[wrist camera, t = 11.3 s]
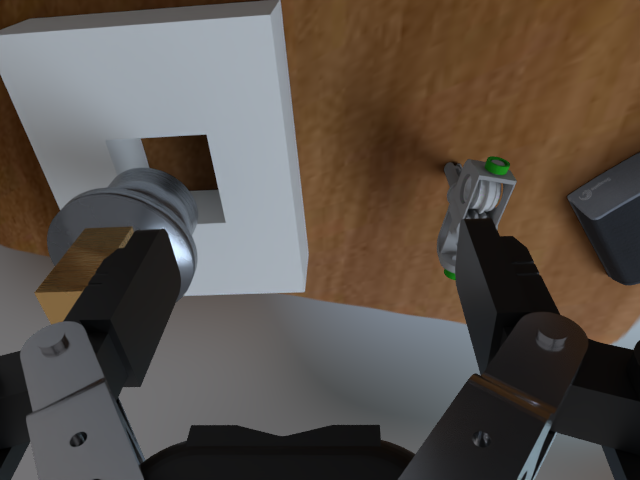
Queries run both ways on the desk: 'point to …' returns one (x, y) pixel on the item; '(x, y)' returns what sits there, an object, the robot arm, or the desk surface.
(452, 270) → the mechanical component
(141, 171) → the end cap
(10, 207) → the desk surface
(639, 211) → the external hard drive
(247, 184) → the housing
